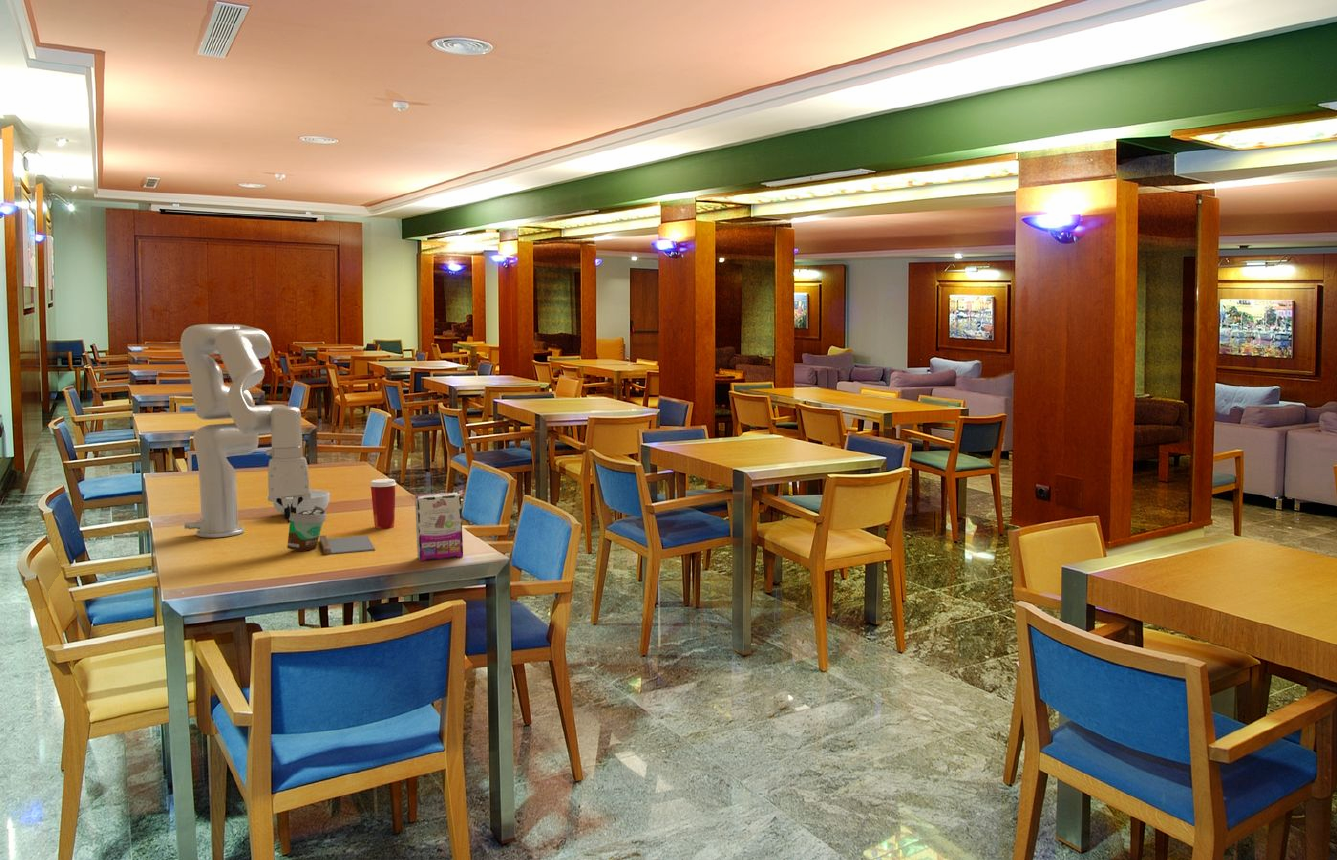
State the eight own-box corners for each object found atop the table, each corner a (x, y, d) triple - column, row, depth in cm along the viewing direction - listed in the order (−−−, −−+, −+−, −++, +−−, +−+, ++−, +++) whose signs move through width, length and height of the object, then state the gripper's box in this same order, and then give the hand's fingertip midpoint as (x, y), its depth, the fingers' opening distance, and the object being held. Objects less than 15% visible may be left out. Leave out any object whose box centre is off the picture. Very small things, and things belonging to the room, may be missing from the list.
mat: (331, 554, 255) (331, 552, 255) (326, 540, 272) (326, 539, 272) (374, 550, 260) (374, 548, 260) (367, 537, 276) (367, 535, 276)
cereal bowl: (284, 523, 297) (283, 500, 296) (265, 515, 309) (264, 493, 309) (338, 515, 308) (338, 493, 307) (318, 508, 320) (317, 487, 320)
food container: (304, 555, 255) (311, 518, 254) (283, 549, 256) (290, 512, 255) (330, 545, 267) (336, 510, 266) (309, 540, 268) (316, 505, 267)
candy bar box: (459, 553, 256) (458, 491, 254) (463, 557, 252) (462, 494, 250) (416, 557, 252) (414, 494, 250) (419, 561, 247) (417, 497, 245)
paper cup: (403, 525, 292) (401, 479, 291) (385, 530, 285) (384, 483, 284) (382, 523, 296) (381, 477, 294) (365, 528, 289) (363, 481, 287)
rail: (324, 554, 255) (324, 549, 255) (319, 541, 271) (319, 535, 271) (330, 554, 255) (330, 548, 255) (325, 540, 272) (325, 535, 272)
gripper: (256, 456, 251) (260, 526, 253) (318, 453, 257) (321, 522, 259) (256, 453, 258) (260, 521, 260) (316, 450, 264) (319, 517, 265)
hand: (290, 521), depth 259 cm, fingers closed
